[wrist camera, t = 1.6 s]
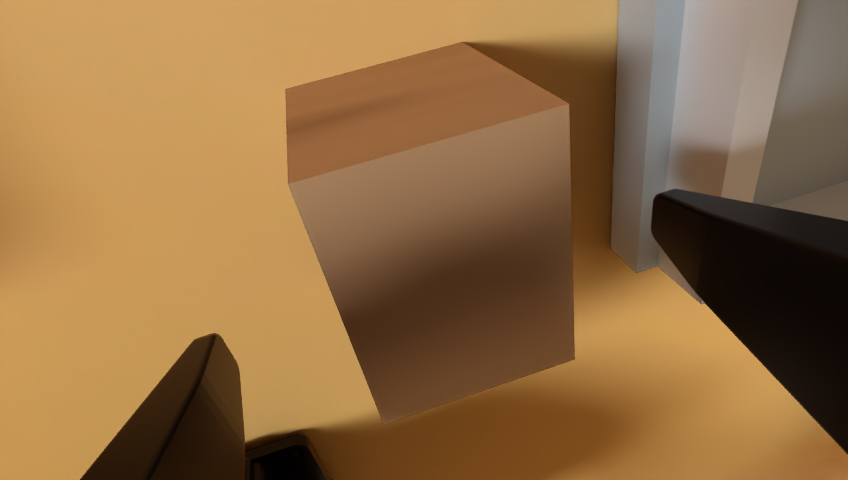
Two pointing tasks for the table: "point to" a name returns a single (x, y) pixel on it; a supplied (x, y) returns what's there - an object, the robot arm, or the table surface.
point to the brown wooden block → (438, 221)
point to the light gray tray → (728, 111)
